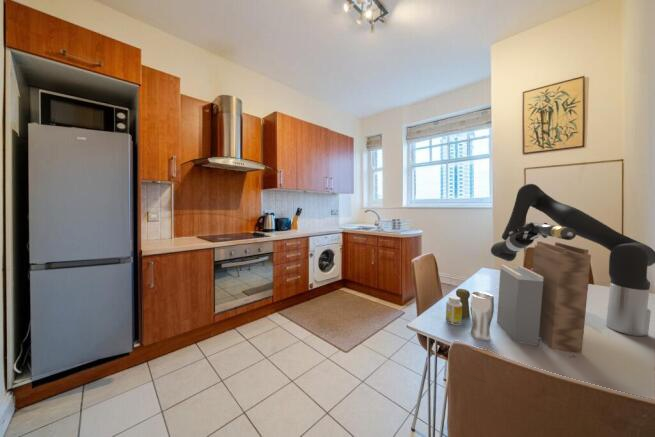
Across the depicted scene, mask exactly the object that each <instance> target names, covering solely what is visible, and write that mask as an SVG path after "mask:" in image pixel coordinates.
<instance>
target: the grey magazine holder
mask: <svg viewBox="0 0 655 437" xmlns="http://www.w3.org/2000/svg"><path fill="white" fill-rule="evenodd" d="M542 290H543V276H541V275H539V274H537V273H535V272H533V270H531V269H529V268H526V267H525V266H523V265H518V269H515V268H510V267H508V266H506V265H505V264H500V271H499V288H498V298H497V299H498V302H497V313H496V314H497V317H496V323H497V324H498V325H499V326H500V328H501V329H502V330H503V331H504V332H505V333H506V334H507V335H508V337H509V338H510V339H511V341H513V342H514V343H521V344H529V345H536V346H539V340H540V338H539V328H540V315H541V302H542Z"/></svg>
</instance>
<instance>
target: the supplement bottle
mask: <svg viewBox="0 0 655 437" xmlns="http://www.w3.org/2000/svg"><path fill="white" fill-rule="evenodd" d="M445 303H446V306H445V307H446V308H445V321H446V322H447V323H448V324H450V325H453V326H461V324H462V319H463V318H462V303H461V302H460V298H459V297H457V295H449V296H448V300H446V302H445Z"/></svg>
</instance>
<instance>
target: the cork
mask: <svg viewBox="0 0 655 437" xmlns="http://www.w3.org/2000/svg"><path fill="white" fill-rule="evenodd" d="M455 294H456V295H455V296H457V297H459V298H460V302H461V303H462V319H470V318H471V311H470V304H469V303H470V302H469V298H470V296H471V292H470V291H469V290H467V289H465V288H457V289H456V290H455Z"/></svg>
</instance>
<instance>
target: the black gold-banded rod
mask: <svg viewBox="0 0 655 437" xmlns="http://www.w3.org/2000/svg"><path fill="white" fill-rule="evenodd" d="M530 223H534V228H533V229H532V230H530V231H529V232H533V233H538V234H542V235H547V237H553V238H556V239H561V240H565V241H572V240H573V239H575V237H576V236H577V235H576V231H575V230H574V229H572V228H568V227H562V226H560V225H553V224H548V223H547V224H548V225H547V224H544V223H540V222H533V221H532V222H531V221H530V222H527V223H525V226H526V225H528V224H530Z"/></svg>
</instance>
